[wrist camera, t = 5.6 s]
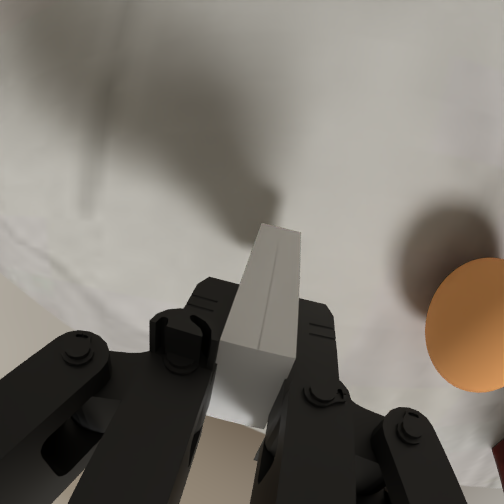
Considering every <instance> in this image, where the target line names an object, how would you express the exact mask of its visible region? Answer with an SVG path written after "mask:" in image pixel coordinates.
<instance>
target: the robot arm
mask: <svg viewBox="0 0 504 504" xmlns="http://www.w3.org/2000/svg"><path fill="white" fill-rule="evenodd" d="M300 252H301V232H297V231H293V230H289V229H285V228H281V227H277V226H273V225H269V224H265V223H261V226H260V229H259V232H258V234H257V237H256V240H255V243H254V246H253V249H252V251H251V254H250V257H249V260H248V263H247V265H246V268H245V271H244V274H243V277H242V279H241V282H240V285H239V284H235V283H231V282H227V281H224V280H220V279H216V278H212V277H208V278H207V279H205V280H203V281H202V282H200V283H198V284H197V286H196V288H195V289H194V291H193V293H192V295H191V296H190V298H189V300H188V302H187V304H186V305H185V307H184V309H181V308H179V309H168V310H165V311H163V312H160V313H158V314H156V315H155V316H154V317H153V318H152V319H151V320H150V351H147V352H142V353H126V352H115V351H109V349H108V346H107V343H106V342H105V341H104V340H103V339H102V338H101V337H100V336H98V335H96V334H94V333H92V332H89V331H81V330H77V331H71V332H67V333H65V334H63V335H61V336H59V337H57V338H56V339H55V340H53V341H52V342H50V343H49V344H47V345H46V346H45V347H44V348H42V349H41V350H39V351H38V352H37V353H35V354H34V355H32V356H31V357H30V358H28V359H27V360H26V361H24V362H23V363H22V364H20V365H19V366H18V367H16V368H15V369H14V370H13V371H11V372H10V373H8V374H7V375H6V376H4V377H3V378H2V379H1V380H0V504H52V503H53V501H54V500H55V499H56V498H57V497H58V496H59V495H60V494H61V493H62V492H63V491H64V490H65V489H66V488H67V487H68V486H69V485H70V484H71V483H72V481H74V479H75V478H76V477H77V476H78V475H79V474H80V473H81V472H82V471H83V470H84V469H85V470H84V472H83V474H82V476H81V478H80V480H79V482H78V484H77V486H76V488H75V490H74V492H73V494H72V496H71V498H70V500H69V502H68V504H179V502H180V499H181V496H182V493H183V490H184V487H185V484H186V480H187V477H188V474H189V471H190V468H191V465H192V461H193V458H194V455H195V452H196V449H197V446H198V443H199V439H200V436H201V432H202V427H203V422H204V419H205V416H206V415H208V416H211V417H215V418H219V419H222V420H226V421H230V422H234V423H239V424H243V425H247V426H252V427H256V428H261V429H264V428H265V426H266V424H267V429H266V436H265V438H264V440H263V442H262V444H261V446H260V448H259V450H258V451H257V453H256V456H255V458H254V460H256V461H258V462H257V468H256V473H255V479H254V485H253V490H252V495H251V500H250V504H467V502H466V500H465V497H464V495H463V492H462V490H461V488H460V485H459V483H458V480H457V478H456V476H455V474H454V471H453V469H452V467H451V465H450V462H449V460H448V458H447V456H446V454H445V451H444V449H443V447H442V445H441V443H440V441H439V439H438V437H437V435H436V432H435V430H434V428H433V426H432V425H431V423H430V422H429V420H428V419H427V418H426V417H425V416H424V415H422V414H421V413H420V412H419V411H416V410H414V409H411V408H407V407H398V408H396V409H393V410H391V411H390V412H389V413H388V414H387V415H386V416H385V417H384V416H382V415H379V414H377V413H374V412H372V411H370V410H367V409H365V408H363V407H361V406H359V405H357V404H355V403H354V402H353V401H352V400H351V398H350V395H349V391H348V389H347V388H346V387H345V386H344V384H343V383H342V382H341V381H339V372H338V359H337V348H336V341H335V339H336V337H335V331H334V329H335V327H334V317H333V315H332V313H331V312H330V310H329V309H328V307H327V306H326V304H321V303H317V302H313V301H309V300H304V299H300V298H299V284H300ZM267 422H268V423H267Z"/></svg>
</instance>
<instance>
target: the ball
mask: <svg viewBox="0 0 504 504" xmlns="http://www.w3.org/2000/svg"><path fill="white" fill-rule="evenodd" d="M425 337H426V345H427V350H428V353H429V356H430V358H431V361H432V363H433V365H434V366H435V368H436V370H437V371H438V372H439V373H440V375H441V376H442V377H443V378H444V379H445V380H446V381H447V382H449V383H450V384H452V385H453V386H455V387H457V388H459V389H462V390H465V391H469V392H489V391H494V390H497V389H499V388H502V387H504V259H499V258H480V259H476V260H472V261H470V262H467V263H465V264H463V265H461V266H460V267H458V268H457V269H455V270H454V271H453V272H452V273H451V274H449V275H448V276H447V277H446V278H445V280H444V281H443V282H442V283H441V284H440V286H439V287H438V289H437V291H436V292H435V294H434V296H433V298H432V300H431V303H430V306H429V309H428V312H427V318H426V325H425Z"/></svg>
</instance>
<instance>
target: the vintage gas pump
mask: <svg viewBox="0 0 504 504" xmlns="http://www.w3.org/2000/svg"><path fill="white" fill-rule="evenodd" d="M492 452H493V455H494V458H495V462H496V465H497V469H498V472H499V476H500V480H501V484H502V488H503V492H504V439H503V440H502V441H500V442H499V443H498V444H497V445H496V446H494V447H493V448H492Z"/></svg>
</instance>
